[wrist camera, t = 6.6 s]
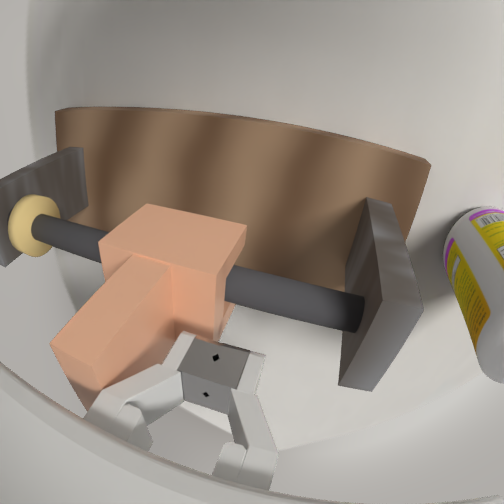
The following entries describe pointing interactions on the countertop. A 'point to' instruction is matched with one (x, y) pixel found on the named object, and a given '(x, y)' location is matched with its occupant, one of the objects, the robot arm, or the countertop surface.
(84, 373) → the peach stepped block
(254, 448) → the robot arm
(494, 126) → the countertop surface
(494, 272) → the supplement bottle
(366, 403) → the countertop surface
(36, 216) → the dark gray rod
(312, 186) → the towel rod holder
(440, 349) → the countertop surface
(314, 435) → the countertop surface
